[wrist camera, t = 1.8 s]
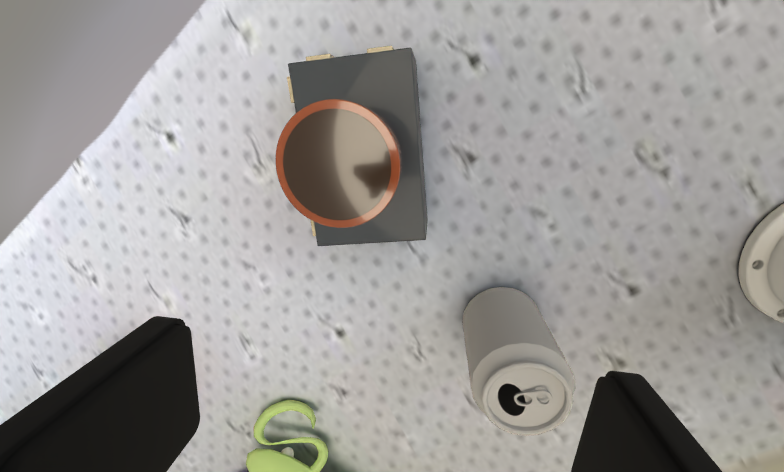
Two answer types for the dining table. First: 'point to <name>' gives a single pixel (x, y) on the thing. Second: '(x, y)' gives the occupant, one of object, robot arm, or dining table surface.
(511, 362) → the can
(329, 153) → the terracotta pot
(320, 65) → the dark grey striped block
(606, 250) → the dining table surface
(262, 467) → the figurine
